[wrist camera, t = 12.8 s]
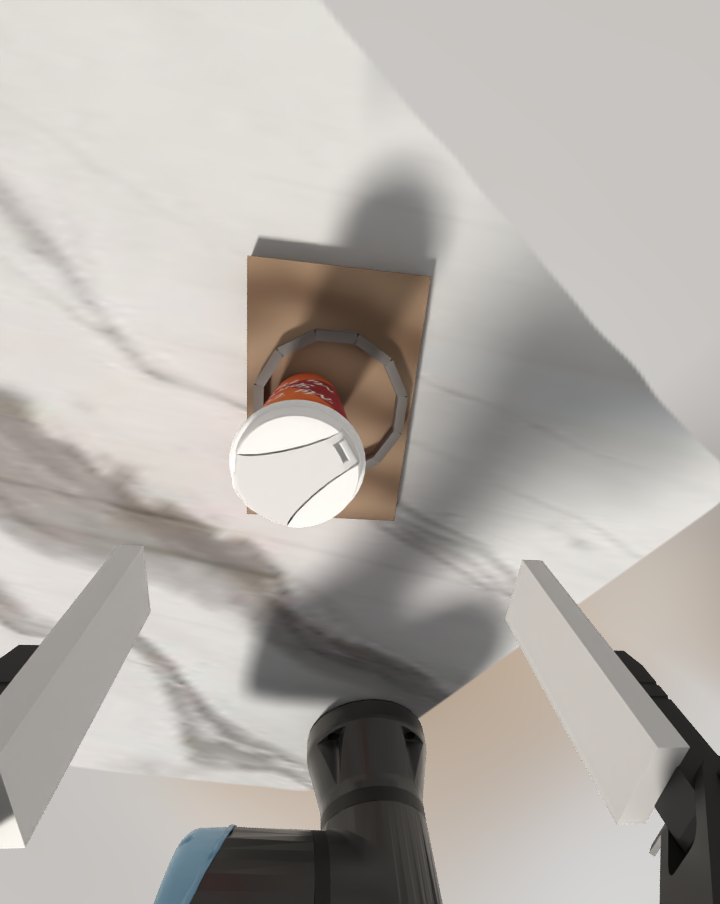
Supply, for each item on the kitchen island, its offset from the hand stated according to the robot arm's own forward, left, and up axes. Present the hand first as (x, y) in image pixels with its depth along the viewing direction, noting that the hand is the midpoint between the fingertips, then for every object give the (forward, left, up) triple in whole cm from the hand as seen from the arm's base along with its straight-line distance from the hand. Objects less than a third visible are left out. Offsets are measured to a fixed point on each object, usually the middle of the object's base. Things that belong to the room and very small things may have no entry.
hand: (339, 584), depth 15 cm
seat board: (0, 0, -24) cm, 24 cm away
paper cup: (0, +2, -23) cm, 23 cm away
